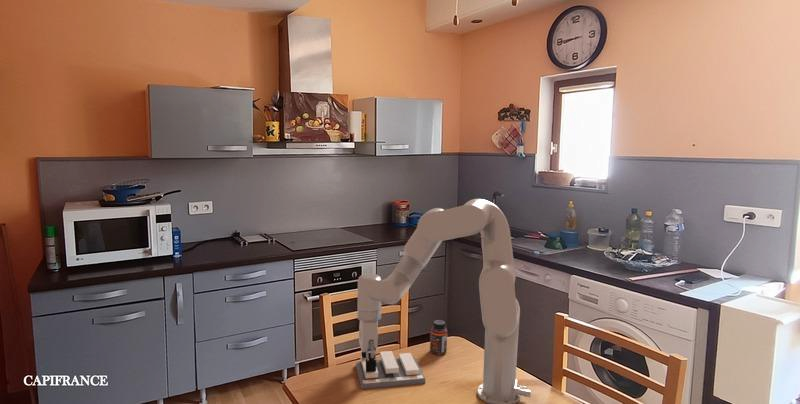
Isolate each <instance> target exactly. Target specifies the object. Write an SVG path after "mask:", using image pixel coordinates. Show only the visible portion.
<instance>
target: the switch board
mask: <svg viewBox="0 0 800 404" xmlns="http://www.w3.org/2000/svg"><path fill="white" fill-rule="evenodd" d="M412 357H413V359H414V361H415V363H416V365H417V367H418V369H419V374H418V375H406V373H405V371H404V369H403V366H402V364H401V362H400V360H399V357H397V358H396V357H395V360H396V362H397V364H398V367H399V373H387V374H386V372H385V369H384V366H383V363H382V361H381V359H376V367H377V370H378V378H367V379H365V375H364V371H363V368H362V364H361V360H360V361H355V368H356V372H357V375H358V379H359V380H358V381H359V384H360V387H361V389H362V390H363V389H374V388H375V389H377V388H385V387H386V388H387V387H396V386H397V387H398V386H409V385H417V384H419V385H420V384H426V377H425V374H424V373H423V371H422V369H421V367H420V365H419V364H418V362H417V359H416V357H414V356H412Z"/></svg>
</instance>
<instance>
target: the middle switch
mask: <svg viewBox="0 0 800 404" xmlns="http://www.w3.org/2000/svg"><path fill="white" fill-rule="evenodd" d="M379 357H380V360H381V361H382V363H383V366H384V369H385V372H386V374H387V373H399V367H398V364H397V362H396V360H395V358H396V357H395V355H394V353H393V351H392V350H390V351H389V350H388V351H387V350H386V351H380V352H379Z"/></svg>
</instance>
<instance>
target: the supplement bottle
mask: <svg viewBox="0 0 800 404" xmlns="http://www.w3.org/2000/svg"><path fill="white" fill-rule="evenodd" d="M429 339H430V340H429V351H430V353H431V354H432V355H436V356H443V355H445V354H447V350H448V349H447V347H448V344H447V342H448V328H447V327H446V322H445V321H444V320H441V319H437V320H436V319H435V320H434V321H433V326H431V328H430V338H429Z"/></svg>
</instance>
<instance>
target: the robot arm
mask: <svg viewBox="0 0 800 404" xmlns="http://www.w3.org/2000/svg"><path fill="white" fill-rule="evenodd" d="M416 226H417V227H416V229H415V230H414V232H413V234H412V235H411V236H410V238H409V239H408V240H407V242H406V243H405V245H404V246H403V255H402V257H401V258H400V260H399V262H398V263H397V265H396V266H395V268H394V270H392V272H391V274H389V276H387V277H386V278H384V279H382V277H381V276H380V275H378V274H376V273H365V274H361V275H360V276H359V277H358V279H357V311H356V312H357V320H358V321H359V327H358V328H359V330H358V343H359V347H360V350H361V356H362V358H367V359H366V372H374V371H376V360H377V355H376V353H377V351H378V345H379V344H378V343H379V339H378V338H379V327H378V326H379V321H380V320H381V319H382V304H386V305H394V304H397V303H398V302H399V301H400V300H401V299H402V298H403V297H404V295H405V294H406V293H407V292H408V291H409V290H410V288H411V287H412V286H413V283H414V282H415V281H416V280H417V278H418V276H419V275H420V273H421V272H422V271H423V269H424V268H425V266H426V265H427V264H428V263H429V261H430V260H431V258H432V256H433V255H434V254H435V253H436V251H437V249H438V248H439V247H440V245H441V244H442V243H443V241H448V240H455V239H458V238H459V239H460V238H463V237H469V236H473V235H477V234H479V233H480V237H481V249H482V261H483V263H482V264H483V267H482V270H481V273H480V274H479V279H478V290H479V301H480V309H481V310H480V311H481V319H482V325H483V327H484V328H485V331H484V332H485V333H484V351H483V352H484V354H483V373H482V377H483V378H482V383H480V384H479V385H478V386H477V389H476V390H477V392H476V393H477V396H478V398H479V399H480V400H482V401H483V402H484V403H486V404H517V403H518V402H520V401H521V396H523V397H525V398H531V393H532V390H531V389H530V390H529V389H528V386H526V385H520V384H518V379H517V363H518V362H517V361H518V346H519V344H518V343H519V331H520V330H519V329H520V315H521V309H520V308H521V307H520V303H519V301H518V299H517V298H516V290H515V287H516V286H515V282H516V278H517V275H516V268H515V262H514V253H513V251H514V250H513V244H512V236H511V229H510V226H509V223H508V220H507V217H506V216H505V214H504V212H503V211H502V210H501V209H500V208H499V207H498V205H496V204H494V202H491V201H489V200H486V199H483V198H473V199H470V200H468V201H467V202H465V203H464V204H463V205H459V206H455V207H452V208H448V209H443V208H441V207H435V208H434V207H433V208H432V209H429V210H428V211H426V212H425V213H424V214H422V215H421V217H419V220H418V222H417V225H416Z"/></svg>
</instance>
